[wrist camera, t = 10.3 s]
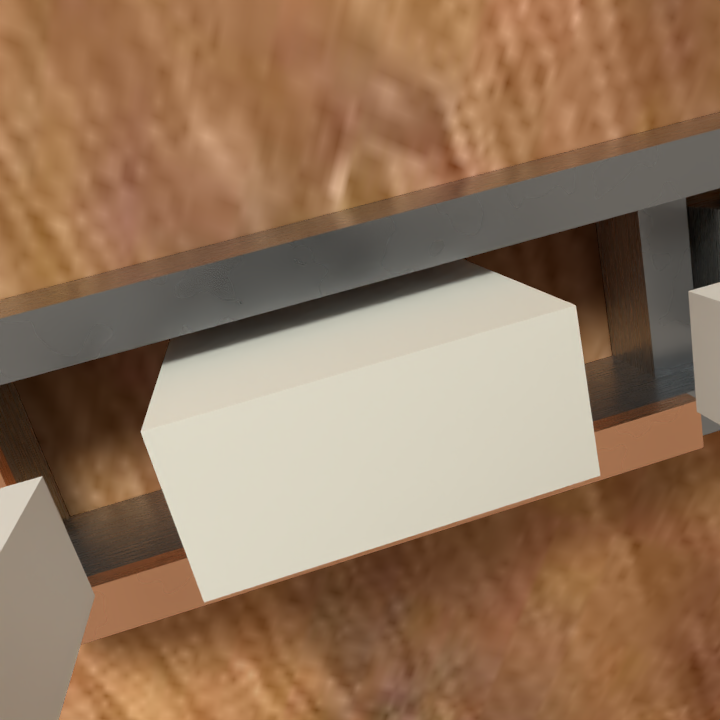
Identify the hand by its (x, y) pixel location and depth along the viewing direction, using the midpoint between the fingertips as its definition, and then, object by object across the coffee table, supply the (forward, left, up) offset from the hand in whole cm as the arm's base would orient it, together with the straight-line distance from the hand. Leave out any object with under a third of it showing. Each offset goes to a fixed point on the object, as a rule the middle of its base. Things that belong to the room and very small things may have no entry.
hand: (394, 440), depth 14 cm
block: (0, 0, -9) cm, 9 cm away
